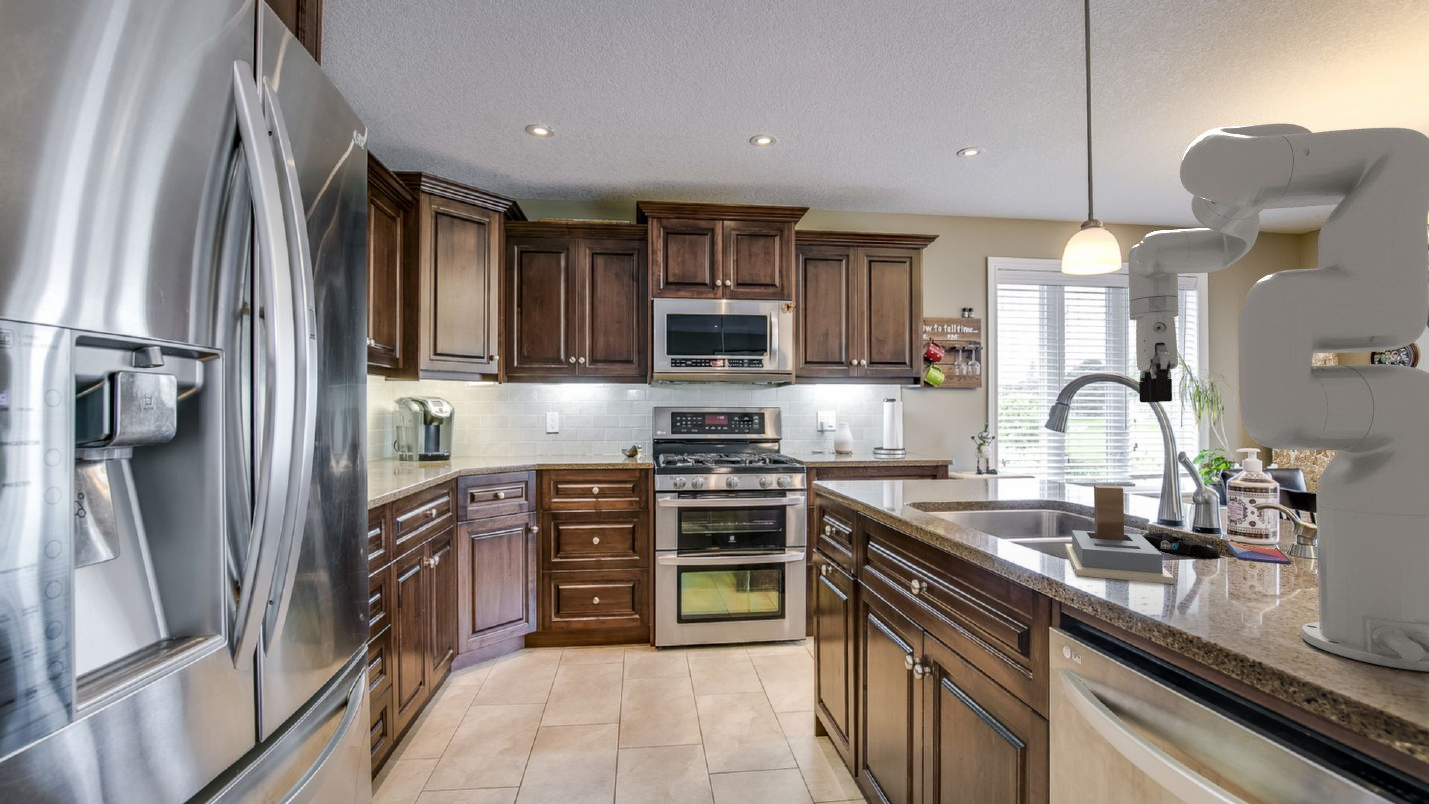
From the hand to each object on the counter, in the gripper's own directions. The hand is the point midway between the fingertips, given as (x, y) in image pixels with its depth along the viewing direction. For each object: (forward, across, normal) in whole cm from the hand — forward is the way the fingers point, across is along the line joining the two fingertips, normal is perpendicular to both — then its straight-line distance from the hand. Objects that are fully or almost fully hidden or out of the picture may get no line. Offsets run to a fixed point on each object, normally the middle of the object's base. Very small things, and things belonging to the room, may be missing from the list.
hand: (1155, 401), depth 117 cm
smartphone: (+29, +9, -17) cm, 35 cm away
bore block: (+28, -11, +8) cm, 32 cm away
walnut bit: (+27, -6, +8) cm, 29 cm away
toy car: (+29, +5, -4) cm, 30 cm away
